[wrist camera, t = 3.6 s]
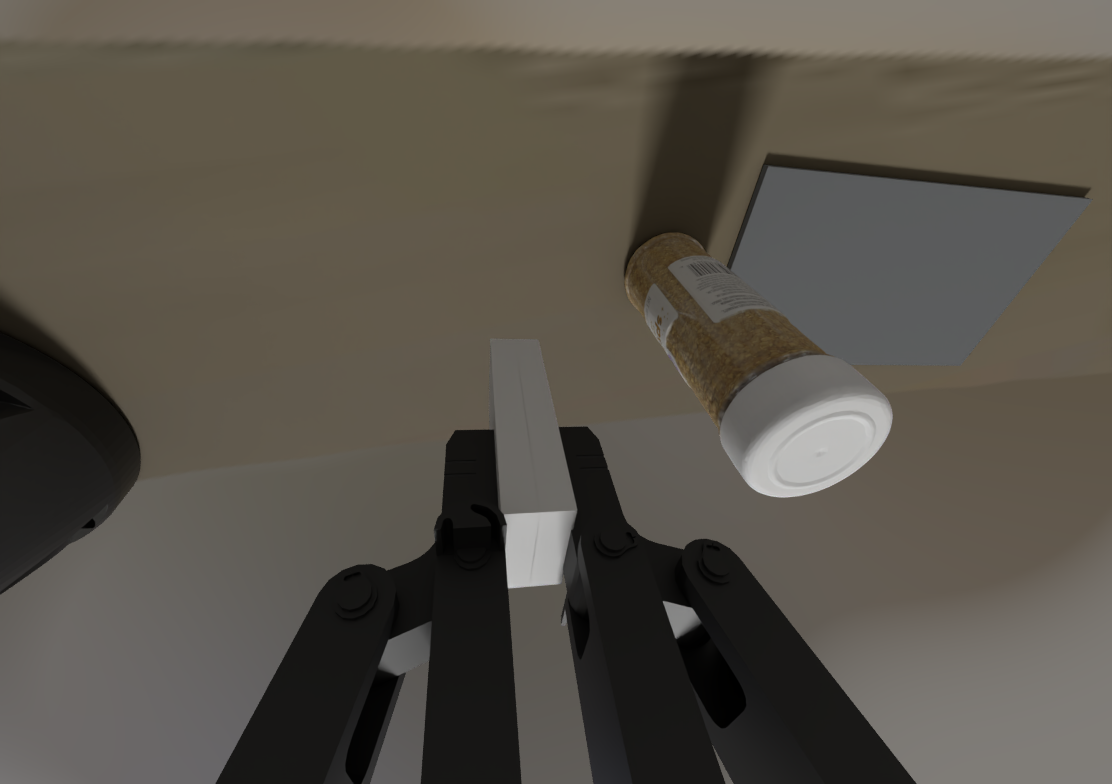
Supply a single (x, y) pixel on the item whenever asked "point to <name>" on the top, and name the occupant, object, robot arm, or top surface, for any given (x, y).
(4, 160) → the top surface
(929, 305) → the mat
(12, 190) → the top surface
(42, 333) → the top surface
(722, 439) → the sprinkles bottle
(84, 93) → the top surface
